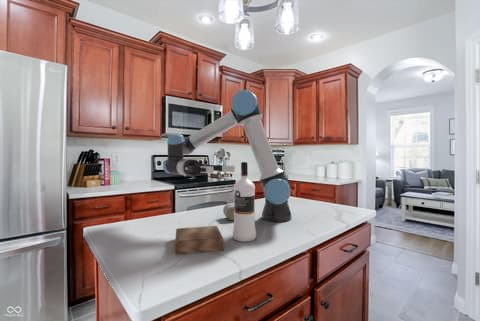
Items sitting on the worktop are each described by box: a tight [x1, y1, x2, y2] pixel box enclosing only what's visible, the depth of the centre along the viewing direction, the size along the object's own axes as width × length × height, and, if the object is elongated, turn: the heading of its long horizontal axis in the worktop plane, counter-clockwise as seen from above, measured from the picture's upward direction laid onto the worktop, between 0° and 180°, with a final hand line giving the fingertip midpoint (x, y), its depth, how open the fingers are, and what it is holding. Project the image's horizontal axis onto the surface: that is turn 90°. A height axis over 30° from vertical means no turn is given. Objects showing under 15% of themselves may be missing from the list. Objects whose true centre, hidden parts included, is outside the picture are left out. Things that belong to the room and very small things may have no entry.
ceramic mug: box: [222, 202, 234, 222], centre depth 125 cm, size 11×8×8 cm
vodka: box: [232, 161, 257, 243], centre depth 95 cm, size 9×9×30 cm
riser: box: [174, 225, 225, 256], centre depth 90 cm, size 16×16×4 cm
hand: (224, 169), depth 101 cm, fingers open, 13 cm apart
